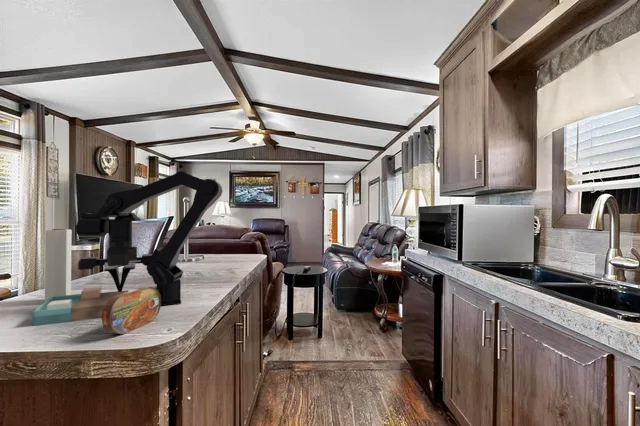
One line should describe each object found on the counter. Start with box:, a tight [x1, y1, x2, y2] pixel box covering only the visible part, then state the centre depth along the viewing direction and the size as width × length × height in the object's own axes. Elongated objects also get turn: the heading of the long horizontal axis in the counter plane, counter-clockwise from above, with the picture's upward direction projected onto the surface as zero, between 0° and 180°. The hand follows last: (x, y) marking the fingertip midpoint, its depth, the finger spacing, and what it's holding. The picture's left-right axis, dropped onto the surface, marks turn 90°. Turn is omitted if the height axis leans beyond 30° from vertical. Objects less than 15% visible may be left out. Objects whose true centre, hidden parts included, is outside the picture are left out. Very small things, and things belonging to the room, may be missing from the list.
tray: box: [31, 293, 81, 327], centre depth 82 cm, size 7×16×3 cm, turn 28°
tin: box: [101, 286, 161, 335], centre depth 72 cm, size 15×3×8 cm, turn 168°
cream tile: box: [47, 299, 72, 310], centre depth 79 cm, size 4×4×2 cm
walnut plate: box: [69, 289, 129, 322], centre depth 86 cm, size 11×16×3 cm
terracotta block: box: [80, 286, 102, 299], centre depth 88 cm, size 4×4×2 cm
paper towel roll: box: [44, 228, 73, 302], centre depth 95 cm, size 7×6×21 cm
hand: (120, 291), depth 91 cm, fingers closed
